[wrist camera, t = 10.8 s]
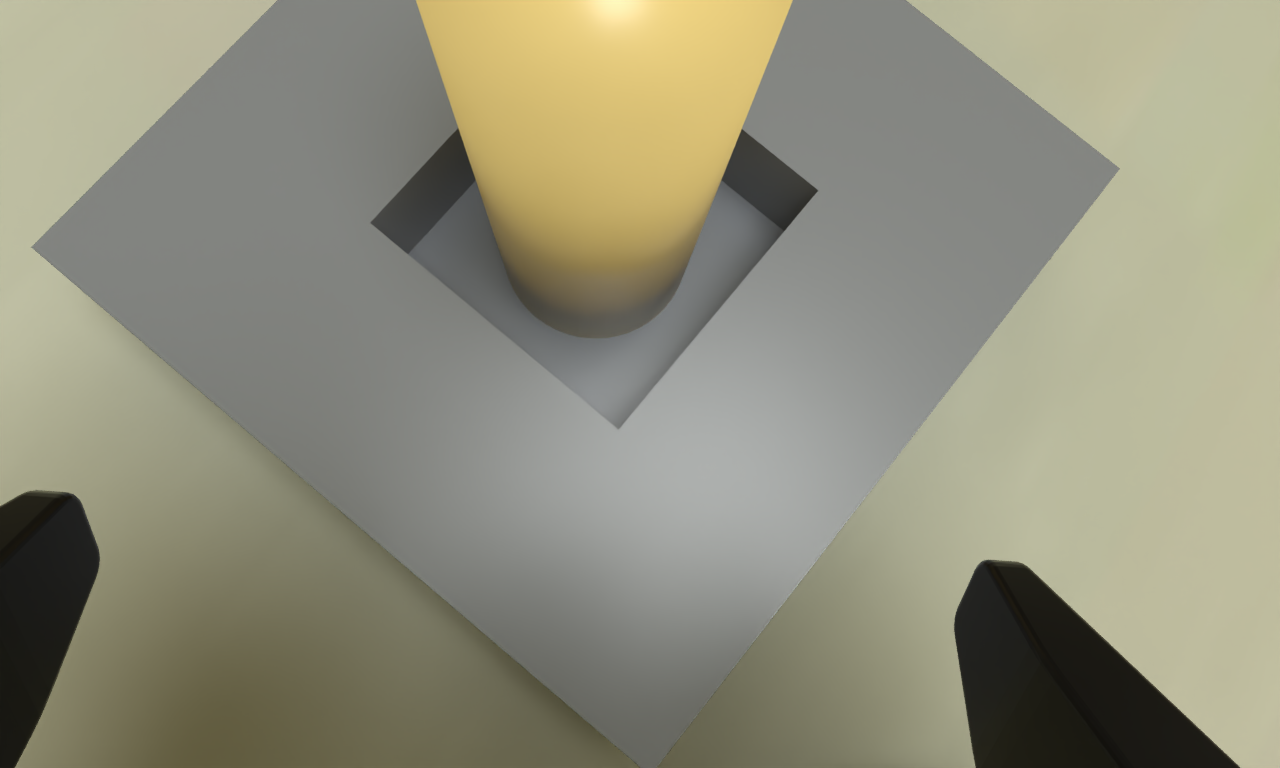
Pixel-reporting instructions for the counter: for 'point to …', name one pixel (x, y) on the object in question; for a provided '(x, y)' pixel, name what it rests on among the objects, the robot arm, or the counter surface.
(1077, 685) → the robot arm
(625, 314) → the plug
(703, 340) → the socket block
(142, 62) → the counter surface
